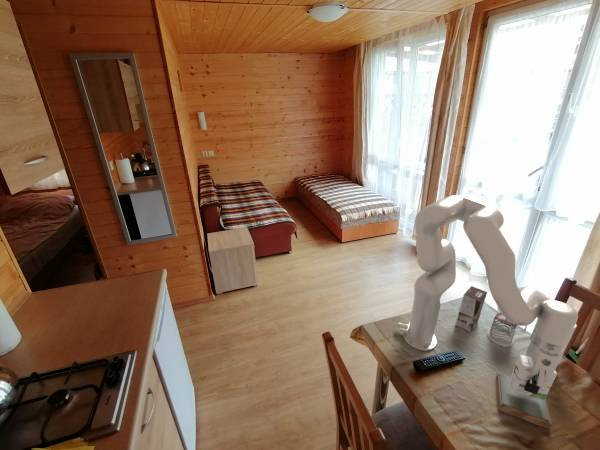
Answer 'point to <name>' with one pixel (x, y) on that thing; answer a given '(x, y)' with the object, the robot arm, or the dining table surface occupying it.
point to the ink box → (521, 377)
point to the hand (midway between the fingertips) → (528, 383)
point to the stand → (521, 403)
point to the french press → (502, 330)
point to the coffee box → (471, 308)
